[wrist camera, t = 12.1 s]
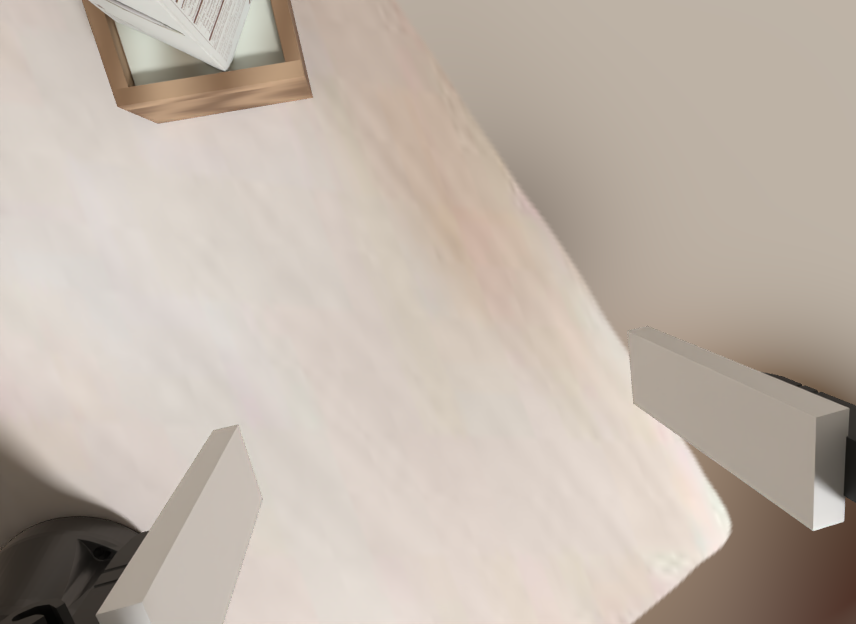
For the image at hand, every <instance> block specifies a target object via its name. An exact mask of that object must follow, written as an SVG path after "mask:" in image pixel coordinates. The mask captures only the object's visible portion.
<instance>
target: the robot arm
mask: <svg viewBox="0 0 856 624" xmlns="http://www.w3.org/2000/svg"><path fill="white" fill-rule="evenodd" d="M627 333H628V345H629V357H630V369H631V381H632V393H633V404H635V405H636V406H638V407H639V408H640V409H642V410H643V411H645V412H646V413H647V414H649V415H650V416H652V417H653V418H655V419H656V420H657V421H659V422H660V423H662V424H663V425H664V426H666V427H667V428H669V429H670V430H671V431H673V432H674V433H676V434H677V435H678V436H680V437H681V438H683V439H684V440H686V441H687V442H688V443H690V444H691V445H693V446H694V447H696V448H697V449H698V450H700V451H701V452H702V453H704V454H705V455H707V456H708V457H710V458H711V459H712V460H714V461H715V462H717V463H718V464H720V465H721V466H722V467H724V468H725V469H727V470H728V471H729V472H731V473H732V474H733V475H735V476H736V477H738V478H739V479H741V480H742V481H743V482H745V483H746V484H748V485H749V486H750V487H752V488H753V489H755V490H756V491H758V492H759V493H760V494H762V495H763V496H765V497H766V498H767V499H769V500H770V501H772V502H773V503H774V504H776V505H777V506H779V507H780V508H781V509H783V510H784V511H786V512H787V513H788V514H790V515H791V516H793V517H794V518H796V519H797V520H799V521H800V522H801V523H803V524H804V525H805V526H807V527H808V528H810V529H811V530H813V531H814V530H818V529H821V528H824V527H828V526H831V525H834V524H838V523H841V522H844V509H845V497H847V498H849V499H850V500H852V501H854V502H856V406H855V405H853V404H850V403H848V402H845V401H843V400H840V399H838V398H835V397H833V396H830V395H828V394H825V393H823V392H820V393H818V391H817V390H815V389H813V388H810V387H808V386H802V384H800V383H797V382H795V381H793V380H790V379H788V378H785V377H782V376H778V375H773V374H768V373H764V372H759V371H757V370H755V369H752V368H750V367H747V366H745V365H742V364H740V363H737V362H735V361H733V360H730V359H727V358H725V357H723V356H720V355H718V354H715V353H713V352H711V351H708V350H706V349H703V348H701V347H698V346H696V345H693V344H691V343H688V342H686V341H684V340H681V339H678V338H676V337H674V336H671V335H669V334H666V333H664V332H661V331H659V330H657V329H654V328H652V327H649V326H646V327H642V328H637V329H633V330H629V331H627ZM262 500H263V498H262V495H261V492H260V489H259V486H258V483H257V480H256V477H255V474H254V471H253V468H252V465H251V462H250V459H249V456H248V452H247V449H246V446H245V443H244V440H243V437H242V434H241V431H240V428H239V425H234V426H230V427H226V428H221V429H217V430H213V432H212V433H211V435H210V436H209V438H208V440H207V441H206V443H205V444H204V446H203V447H202V449H201V451H200V452H199V454H198V455H197V457H196V458H195V460H194V461H193V463H192V465H191V466H190V468H189V469H188V471H187V472H186V474H185V476H184V477H183V479H182V480H181V482H180V483H179V485H178V487H177V488H176V490H175V491H174V493H173V494H172V496H171V498H170V499H169V501H168V502H167V504H166V505H165V507H164V508H163V510H162V512H161V513H160V515H159V516H158V518H157V519H156V521H155V523H154V524H153V526H152V527H151V529H150V530H149V531H146V532H142V533H137V532H135V531H133V530H131V529H130V528H127V527H125V526H123V525H121V524H118V523H115V522H112V521H108V520H104V519H99V518H93V517H65V518H59V519H54V520H49V521H46V522H43V523H40V524H37V525H35V526H33V527H30V528H29V529H27V530H25V531H23V532H22V533H20V534H19V535H17V536H16V537H14V538H13V539H12V540H11V541H10V542H9V543H8V544H7V545H6V546H5V547H4V548H3V549H2V550H0V624H223V623H224V620H225V616H226V613H227V610H228V607H229V604H230V601H231V598H232V594H233V591H234V588H235V585H236V582H237V579H238V576H239V572H240V569H241V566H242V563H243V560H244V557H245V554H246V550H247V547H248V544H249V541H250V538H251V535H252V532H253V529H254V525H255V522H256V519H257V516H258V513H259V510H260V507H261V503H262Z"/></svg>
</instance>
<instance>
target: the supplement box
mask: <svg viewBox="0 0 856 624" xmlns="http://www.w3.org/2000/svg"><path fill="white" fill-rule="evenodd" d="M89 1H90V2H91V3H92V4H94V5H95V6H96V7H98V8H99V9H100V10H101V11H103V12H104V13H105V14H107V15H108V16H109V17H111V18H112V19H113V20H115V21H116V22H118V23H120V24H122V25H125V26H127V27H129V28H132V29H134V30H137V31H139V32H141V33H144V34H146V35H148V36H150V37H153V38H155V39H157V40H159V41H161V42H164V43H166V44H168V45H170V46H172V47H174V48H176V49H178V50H180V51H182V52H185V53H187V54H189V55H191V56H193V57H195V58H197V59H199V60H201V61H203V62H205V63H207V64H209V65H211V66H213V67H215V68H217V69H219V70H221V71H223V72H227V71H229V70H230V66H231V63H232V60H233V57H234V54H235V51H236V48H237V45H238V42H239V39H240V36H241V33H242V30H243V28H244V24H245V21H246V18H247V15H248V12H249V9H250V6H251V3H252V0H89Z"/></svg>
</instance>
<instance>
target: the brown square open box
mask: <svg viewBox="0 0 856 624" xmlns="http://www.w3.org/2000/svg"><path fill="white" fill-rule="evenodd" d="M82 2H83V5H84V8H85V11H86V14H87V17H88V20H89V23H90V26H91V29H92V32H93V35H94V38H95V41H96V44H97V47H98V50H99V53H100V56H101V59H102V62H103V65H104V68H105V71H106V74H107V77H108V80H109V83H110V86H111V89H112V92H113V95H114V98H115V101H116V104H117V107H120V108H122V109H124V110H127V111H129V112H131V113H134V114H136V115H139V116H141V117H143V118H146V119H148V120H151V121H153V122H155V123H158V124H159V123H165V122H170V121H176V120H182V119H188V118H194V117H200V116H206V115H212V114H218V113H224V112H230V111H236V110H242V109H248V108H254V107H260V106H266V105H272V104H277V103H283V102H289V101H295V100H301V99H307V98H313V96H312V91H311V87H310V83H309V79H308V74H307V70H306V66H305V61H304V57H303V53H302V48H301V44H300V40H299V36H298V31H297V27H296V23H295V18H294V14H293V10H292V5H291V1H290V0H252V3H251V6H250V9H249V12H248V15H247V18H246V21H245V24H244V28H243V30H242V33H241V36H240V39H239V42H238V45H237V48H236V51H235V54H234V57H233V60H232V63H231V66H230V70H229V71H227V72H223V71H221V70H219V69H217V68H215V67H213V66H211V65H209V64H207V63H205V62H203V61H201V60H199V59H197V58H195V57H193V56H191V55H189V54H187V53H185V52H182V51H180V50H178V49H176V48H174V47H172V46H170V45H168V44H166V43H164V42H161V41H159V40H157V39H155V38H153V37H150V36H148V35H146V34H144V33H141V32H139V31H137V30H134V29H132V28H129V27H127V26H125V25H122V24H120V23H118V22H116V21H115V20H113V19H112V18H111V17H109V16H108V15H107V14H105V13H104V12H103V11H101V10H100V9H99V8H98V7H96V6H95V5H94V4H92V3H91V2H90V1H89V0H82Z"/></svg>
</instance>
